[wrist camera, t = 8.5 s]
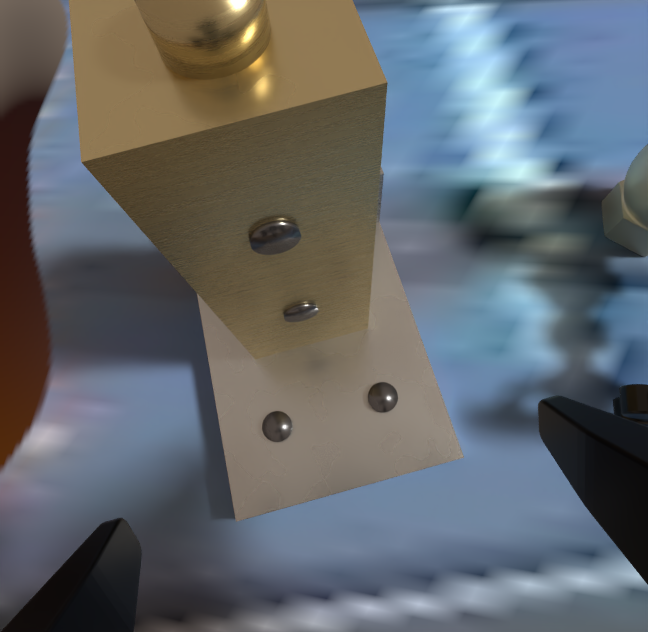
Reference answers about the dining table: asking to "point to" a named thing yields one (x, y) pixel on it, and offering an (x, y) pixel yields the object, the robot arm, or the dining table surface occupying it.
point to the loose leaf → (241, 152)
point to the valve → (640, 237)
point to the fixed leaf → (329, 404)
